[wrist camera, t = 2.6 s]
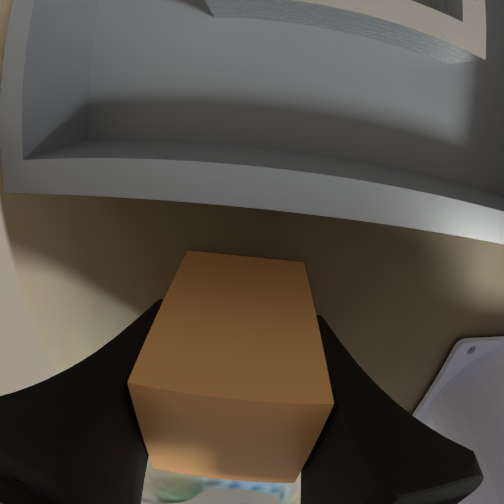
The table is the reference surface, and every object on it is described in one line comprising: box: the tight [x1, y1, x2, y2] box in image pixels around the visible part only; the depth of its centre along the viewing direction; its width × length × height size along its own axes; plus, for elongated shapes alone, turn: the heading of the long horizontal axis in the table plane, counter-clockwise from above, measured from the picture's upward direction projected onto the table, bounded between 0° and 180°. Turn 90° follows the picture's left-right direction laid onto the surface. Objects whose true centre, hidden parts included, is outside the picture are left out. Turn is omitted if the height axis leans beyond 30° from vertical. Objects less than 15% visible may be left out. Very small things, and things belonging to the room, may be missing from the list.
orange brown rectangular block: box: [127, 250, 334, 483], centre depth 9 cm, size 4×4×6 cm
